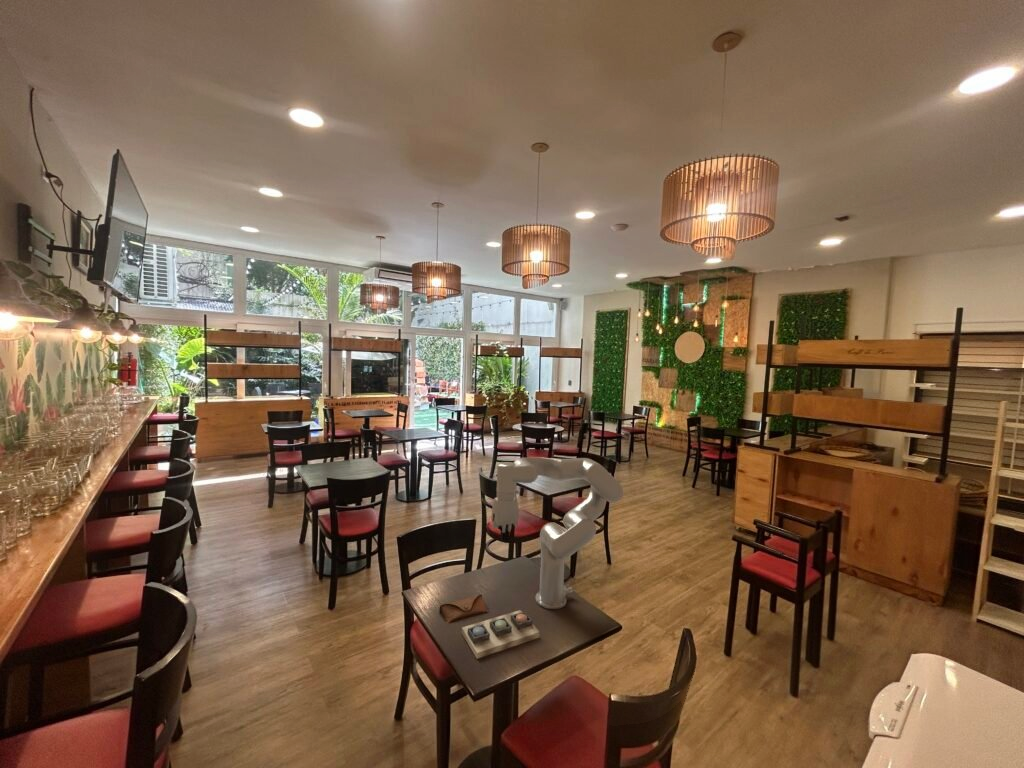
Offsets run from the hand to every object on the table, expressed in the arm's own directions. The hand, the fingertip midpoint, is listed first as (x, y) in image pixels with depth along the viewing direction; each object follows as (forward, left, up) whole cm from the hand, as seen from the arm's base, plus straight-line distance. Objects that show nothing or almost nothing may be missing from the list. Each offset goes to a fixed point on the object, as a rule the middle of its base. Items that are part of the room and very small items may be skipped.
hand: (504, 540), depth 161 cm
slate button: (+16, +14, -25) cm, 33 cm away
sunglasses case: (+14, -4, -28) cm, 32 cm away
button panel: (+8, +14, -27) cm, 32 cm away
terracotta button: (-1, +14, -25) cm, 28 cm away
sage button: (+8, +14, -25) cm, 30 cm away
